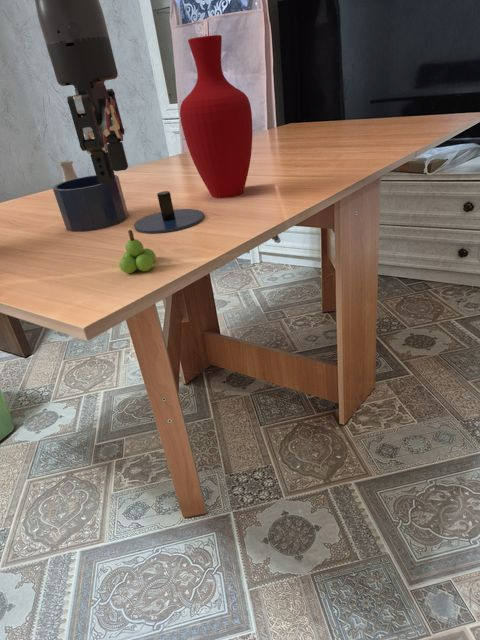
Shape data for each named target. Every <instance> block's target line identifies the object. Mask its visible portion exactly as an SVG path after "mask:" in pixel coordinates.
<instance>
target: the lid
mask: <svg viewBox="0 0 480 640" xmlns="http://www.w3.org/2000/svg"><path fill="white" fill-rule="evenodd" d="M156 195H157V200H158V204H159V208H160V211H158V212H155V213H152V214H148V215H146V216H144V217H141V218H139V219H138V220H136V221H135V222H134V224H133V228H134V230H135V231H136V232H138V233H142V234H164V233H165V234H166V233H172V232H176V231H180V230H181V231H182V230H185V229H188V228H191V227H193V226H195V225H198V224H200V223H202V222H203V220H205V214H204V212H203V211H202V210H199V209H194V208H177V209H174V206H173V200H172V196H171V192H170V190H164V191H160V192H157V193H156Z"/></svg>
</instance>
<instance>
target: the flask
mask: <svg viewBox="0 0 480 640" xmlns="http://www.w3.org/2000/svg"><path fill="white" fill-rule="evenodd" d="M57 164H58V166H59V168H60V169H61V172H62V179H63V182H65V181H68V180H72V179H76V178H79V177H78V175H77V173H76V171H75V168H74V165H73V164H74V161H73V160H63V161H60V162H58V163H57Z"/></svg>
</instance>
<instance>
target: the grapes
mask: <svg viewBox="0 0 480 640" xmlns="http://www.w3.org/2000/svg"><path fill="white" fill-rule="evenodd" d="M127 233H128V237H129V240H128V241H127V242H126V244H125V252H124V253H123V255H122V257H121V259H120V260H119V268H120V270H121V271H122V272H124V273H125V274H133V273H134V272H136V270H137V269H138V270H139V271H141V272H148V271H150V270H152V268H153V266H154V262H155V261H156V253H155V252H154V251H153V250H152V249H150V248H149V247H148V248H147V247H146V248H144V244H143V243H142V242H141V241H140V240H139V239H135V236H134V233H133V230H132V229H129V230H128V232H127Z"/></svg>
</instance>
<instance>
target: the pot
mask: <svg viewBox="0 0 480 640" xmlns="http://www.w3.org/2000/svg"><path fill="white" fill-rule="evenodd" d="M115 178H116V179H115V181H114V182H113V183H107V184H100V183H99V182H98V180H97V176H96V174H94V175H87V176H82V177H78V178H76V179H72V180H68V181H65V182H64V181H63V182H62V181H61V182H60V183H57V184H54V186H52V191H53V194H54V196H55V200H56V202H57V206H58V209H59V212H60V215H61V217H62V220H63V223H64V226H65V229H66V231H68V232H69V231H70V232H73V233H74V232H75V233H77V232H78V233H79V232H80V233H83V232H92V231H98V230H102V229H107V228H110V227H114V226H116V225H119V224H121V223H123V222H125V221H127V220H128V218H129V212H128V209H127V204H126V200H125V197H124V192H123V189H122V186H121V181H120V178H119V176H118V175H117V174H115Z"/></svg>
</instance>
